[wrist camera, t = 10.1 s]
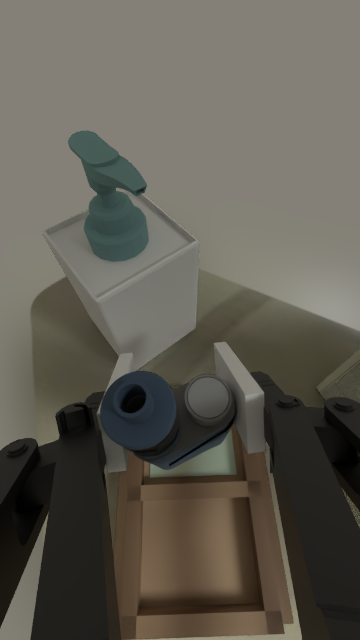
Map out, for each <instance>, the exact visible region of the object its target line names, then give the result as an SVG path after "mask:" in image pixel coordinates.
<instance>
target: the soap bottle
mask: <svg viewBox="0 0 360 640" xmlns="http://www.w3.org/2000/svg"><path fill="white" fill-rule="evenodd" d="M68 143H69V147H70V149H71V150H72V151H73V152H74V153H75V154H76V155H77V156H78V157H79V158H80V159H81V161H82V164H83V167H84V170H85V173H86V176H87V179H88V182H89V185H90V187H91V188H92V189H93V190H94V191H95V192H97V196H95V197H94V198H93V199H92V200H91V201H90V204H89V209H88V210H85V211H83V212H81V213H79V214H77V215H75V216H73V217H70V218H68V219H66V220H64V221H62V222H60V223H58V224H55V225H53V226H51V227H49V228H47V229H45V230H44V231H43V236H44V238H45V239H46V241H47V243H48V245H49V246H50V248H51V250H52V252H53V253H54V255H55V257H56V258H57V260H58V262H59V264H60V265H61V267H62V269H63V271H64V272H65V274H66V276H67V278H68V279H69V281H70V283H71V285H72V286H73V288H74V290H75V291H76V293H77V295H78V297H79V298H80V300H81V302H82V304H83V305H84V307H85V309H86V311H87V312H88V314H89V316H90V317H91V319H92V321H93V322H94V323H95V325H96V326H97V328H98V329H99V330H100V332H101V333H102V334H103V336H104V337H105V338H106V340H107V341H108V343H109V344H110V345H111V347H112V348H113V349H114V351H115V352H116V354H117V355H118V356H120V354H125V353H133V359H134V366H135V371H137V370H138V369H139V368H141V367H142V366H144V365H145V364H146V363H148V362H149V361H151V360H152V359H153V358H155V357H156V356H158V355H159V354H160V353H162V352H163V351H165V350H166V349H167V348H169V347H170V346H172V345H173V344H174V343H176V342H177V341H179V340H180V339H181V338H183V337H184V336H186V335H187V334H188V333H190V332H191V331H193V330H194V329H195V328H196V310H197V289H198V268H199V246H200V243H199V241H198V239H197V238H195V237H194V236H193V235H192V234H191V233H189V232H188V231H187V230H186V229H185V228H183V227H182V226H181V225H179V223H177V222H176V221H175V220H174V219H173V218H171V217H170V216H169V215H168V214H167V213H165V212H164V211H163V210H162V209H161V208H159V207H158V206H157V205H156V204H155V203H154V202H152V201H151V200H150V199H149V198H148V197H146V196H145V195H144V194H143V193H144V192H145V189H146V187H147V184H146V182H145V181H144V179H143V177H142V176H141V174H140V173H139V172H138V170H137V169H136V168H135V167H134V166H133V165H132V164H131V163H130V162H128V160H126V159H125V158H123V157H122V156H120V155H119V153H118V152H117V151H116V150H115V149H113V148H112V147H111V146H109V145H108V144H107V143H106V142H105V141H103V140H102V139H101V138H100V137H99V136H98V135H97V134H96V133H94V132H91V131H80V132H76V133H74V134H72V135H71V137H70V138H69V140H68ZM116 187H117V188H122V189H124V190H127V191H126V192H118V191H116Z"/></svg>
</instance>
